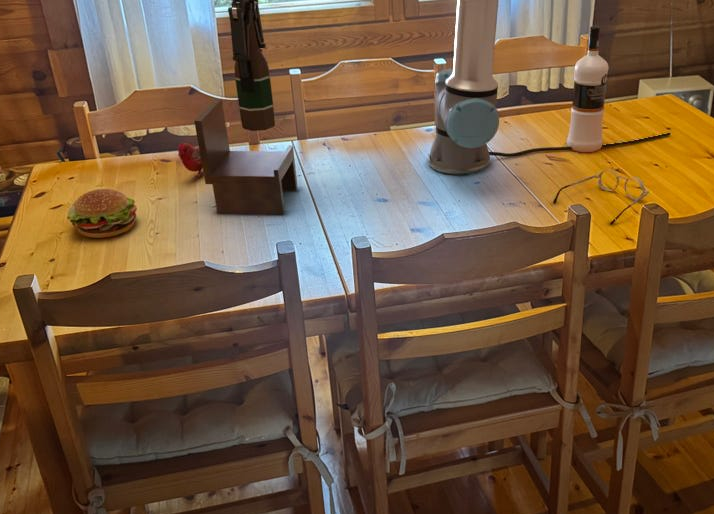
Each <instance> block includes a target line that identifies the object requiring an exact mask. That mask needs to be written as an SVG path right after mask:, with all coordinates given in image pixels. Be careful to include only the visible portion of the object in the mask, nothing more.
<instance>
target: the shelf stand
mask: <svg viewBox="0 0 714 514" xmlns="http://www.w3.org/2000/svg"><path fill="white" fill-rule="evenodd" d="M193 122H194V128H195V133H196V139H197V144H198V145H197V146H199V150H200V156H201V162H202V167H203V168H202V171H203V172H202V174H203V178H204V184H205V185H212V190H213V196H214V201H215V202H214V203H215V207H216V213H217V215H256V216H257V215H262V216H263V215H265V216H284V215H285V213H286V208H285V200H284V194H283V193H284V192H285V191H287V192H297V191H298V190H299V188H298V179H297V169H296V162H295V151H294V145H288V146H287V148H286V149H285V150H284V151H269V150H268V151H266V150H265V151H262V150H261V151H259V150H256V151H255V150H231V149H230V144H229V137H228V130H227V123H226V117H225V111H224V105H223V99H222V98H215V99H214V100H213V101H212V102H211V103H210V104H209V105H208V106H207V107H206V108H205V109H204V110H203V111H202V112H201V113H200V114H199V115H198V116H197V118H196V119H194V121H193ZM283 191H284V192H283Z"/></svg>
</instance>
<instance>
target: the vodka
mask: <svg viewBox="0 0 714 514" xmlns="http://www.w3.org/2000/svg"><path fill="white" fill-rule="evenodd" d="M600 36H601V27H600V26H598V25H591V26H590V27H589V32H588V43H587V44H588V45H587V52H586V53H587V54H585V55H584V56H582V57H581V58H580V59H578V60H577V61H576V62H575V66H574V68H573V71H574V72H573V73H574V75H573V91H572V92H573V93H572V103H571V108H570V112H571V113H570V124H569V128H568V129H569V130H568V134H567V136H566V145H567V146H566V147H571V148H572V150H571V151H574V152H578V153H595V152H596V151H599V150H600V149H602V148H601V147H602V145H603V144H604V138H603V124H604V123H603V122H604V120H603V119H604V113H605V103H606V101H605V100H606V91H607V84H608V83H607V81H608V73H609V72H608V71H609V69H610V67H609V63H608V61H606V60H605V59H604V58H603V57H602V56H601V55H599V49H600V48H599V46H600Z"/></svg>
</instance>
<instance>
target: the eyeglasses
mask: <svg viewBox="0 0 714 514" xmlns="http://www.w3.org/2000/svg"><path fill="white" fill-rule="evenodd" d="M604 172H611V173H612V174H614V176H615V178H616V184H615V185H614V189H608V188H606V187H605V185H604V184H603V182H602V176H603V174H604ZM619 178H621V179H624V180H625V181H624V192H625V194H626V196H627V197H628V198H629V199H630V200H632V201H633V202H631V203H630V204H629V205H628V206H626V207H625V208H624V209H623V210H622V211H621V212H620V213H619V214H618V215H617V216H616V217H615V218H614V219H613V220H612V221H610V225H613V224H614V223H615V222H616V221H617V220H618V219H619V218H620V217H621V216H622V214H623V213H624V212H625V211H626V210H628V209H629V208H631V207H632V206H633V205H635V204H637V203H638V202H640V201H641V200H642V199H644V198H645V197H646V196H647V195H648V194H649V193H650V191H649V190H645V184H644V182H642V180H641V179H640V178H638V177H635V176H634V177H632V176H631V177H629V178H627V177H625V176H622V175H617V172H615V171H614V170H613V169H609V168H608V169H607V168H606V169H604V170H602V171H600V172H599V174H595V175H591V176H588V177H586V178H583V179H580V180H578V181H575V182H572V183H569V184H568V185H564V186H562V187H561V188H559V190H558V192H557V193H556V195H555V197H554V199H553V201H552V204H554V205H555V204H557V201H558V198H559V196H560V193H561V191H563V190H564V189H566V188H570V187H572V186H576V185H579V184H581V183H584V182H587V181H590V180H592V179H597V184H598V186H599V187H600V188H601V190H604V191H606V192H612V191H615V190H616V189H618V186H619V184H620V179H619ZM631 179H633V180H635V181H637V183H638V184H639V187H640V191H642V193H640V195H639V197H640V198H639V197H633V196H631V195H630V194H629V192H628V190H627V183H628V182H629V180H631ZM626 192H627V193H626ZM615 219H616V220H615Z"/></svg>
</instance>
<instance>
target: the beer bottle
mask: <svg viewBox="0 0 714 514" xmlns="http://www.w3.org/2000/svg"><path fill="white" fill-rule="evenodd" d="M253 16H254V14H253V11H252V12H251V25H250V26H249V57H250V59H249V60H252V68H253V76H254V84H255V92H242V89H241V82H240V75H239V67H238V61H234V79H235V88H236V95H237V101H238V108H239V117H240V122H241V127H242V128H243V130H247V131H251V132H258V131H259V132H260V131H267V130H270V129H272V128H274V127H275V126H276V120H275V108H274V100H273V91H272V82H271V81H272V80H271V74H270V73H271V72H270V67H269V63H268V61H267V58H266V56H265V54H263V51H262V52H261V51H260V50H259V47H258V44H257V39H256V34H255V28H254V23H253ZM240 54H242V53H240Z"/></svg>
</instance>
